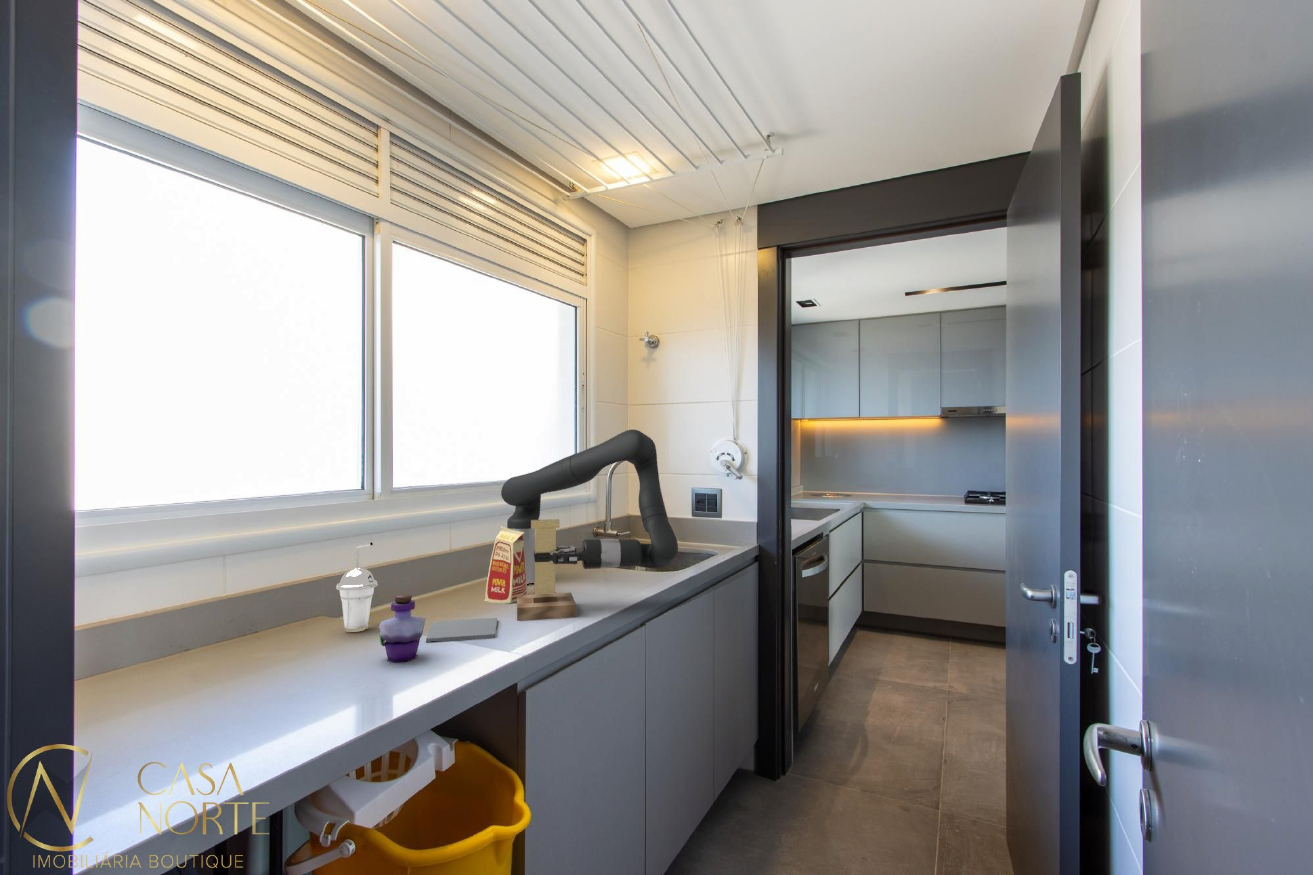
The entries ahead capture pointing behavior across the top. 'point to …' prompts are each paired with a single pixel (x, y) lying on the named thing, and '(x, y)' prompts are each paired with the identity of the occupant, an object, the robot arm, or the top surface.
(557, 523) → the pale yellow tall block
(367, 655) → the top surface
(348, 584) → the cup with straw
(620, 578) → the top surface
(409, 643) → the potion bottle
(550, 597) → the socket block
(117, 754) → the top surface
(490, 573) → the milk carton
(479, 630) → the slate mat
